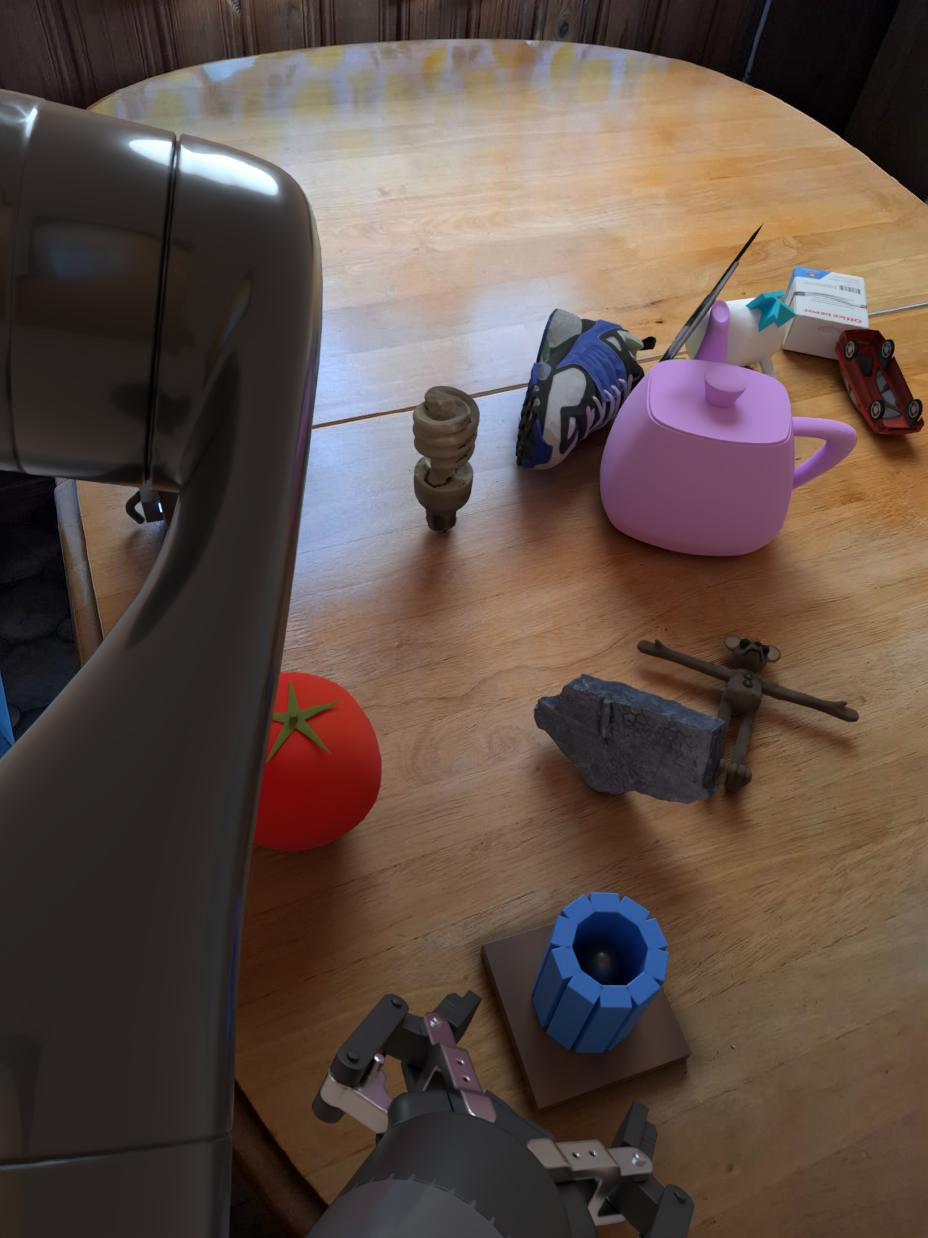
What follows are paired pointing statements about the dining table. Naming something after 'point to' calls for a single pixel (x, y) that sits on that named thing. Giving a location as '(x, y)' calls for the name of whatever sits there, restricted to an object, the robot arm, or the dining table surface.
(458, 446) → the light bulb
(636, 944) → the blue notched tube
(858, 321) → the ink box
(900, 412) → the toy car
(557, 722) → the stone
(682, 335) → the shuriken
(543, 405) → the athletic shoe
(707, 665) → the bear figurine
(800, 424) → the teapot
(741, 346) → the mug
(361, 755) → the tomato
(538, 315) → the dining table surface
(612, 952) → the peg stand
